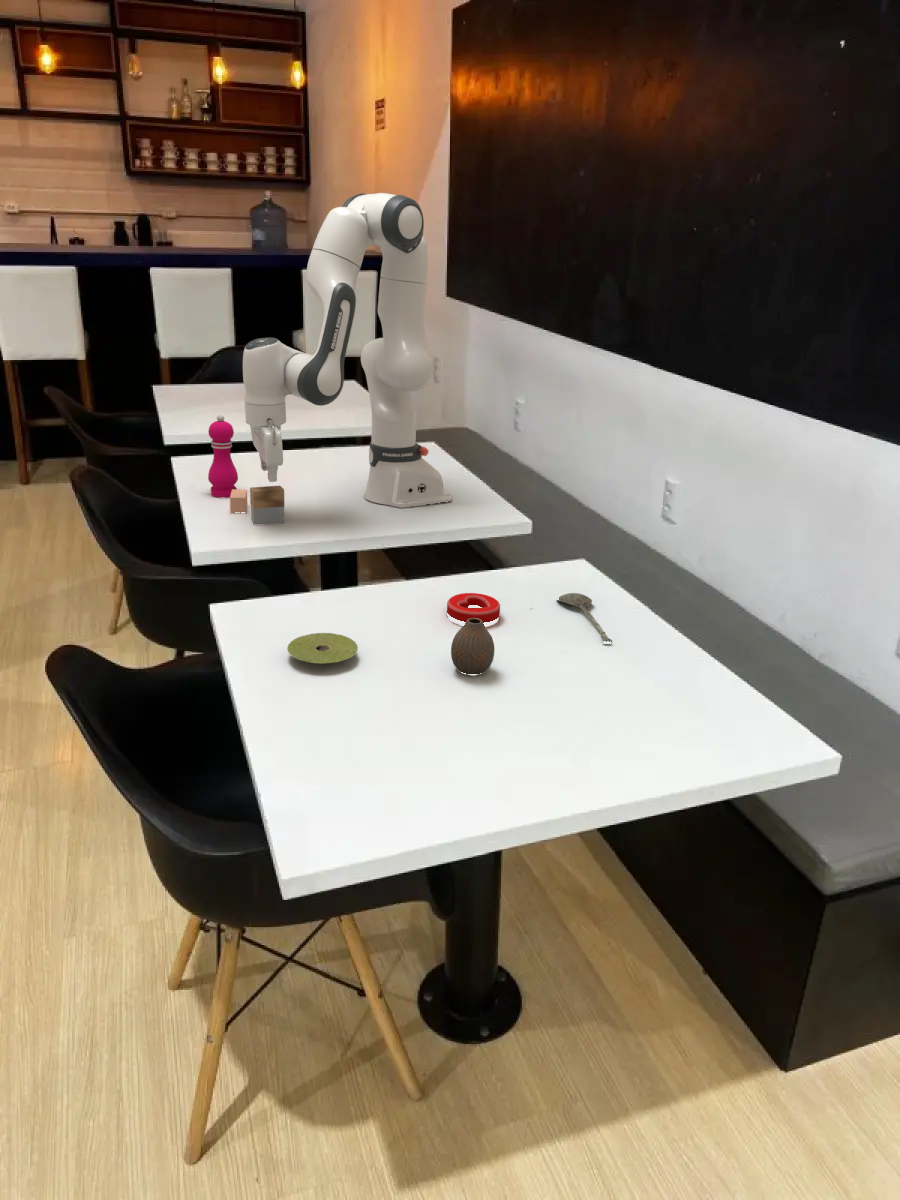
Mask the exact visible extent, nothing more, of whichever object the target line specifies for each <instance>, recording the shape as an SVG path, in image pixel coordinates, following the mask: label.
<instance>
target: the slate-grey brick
mask: <svg viewBox="0 0 900 1200" xmlns="http://www.w3.org/2000/svg"><path fill="white" fill-rule="evenodd" d="M251 520H252V521H251ZM250 521H251V523H252V522H253V523H252V524H253V525H254V524H264V525H275V524H277V523H278V524H285V506H284V507H271V508H258V509H254V508H253V507H252V506H251V505H250ZM278 524H277V525H278Z"/></svg>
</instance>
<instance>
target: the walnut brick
mask: <svg viewBox="0 0 900 1200" xmlns="http://www.w3.org/2000/svg"><path fill="white" fill-rule="evenodd" d="M249 499H250V503H249V504H250V507H251V506H252V507H253V508H254V509H258V508H271V507H284V508H285V489H284V487H282V486H281V485H268V486H266V485H265V486H252V487H249Z"/></svg>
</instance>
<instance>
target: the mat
mask: <svg viewBox="0 0 900 1200" xmlns="http://www.w3.org/2000/svg"><path fill="white" fill-rule="evenodd" d="M358 647H359V646H358V644H357V643H356V641H355V640H353V639H351V638H350V637H348V636H345V635H343V634H338V633H333V632H332V633H331V632H318V633H317V632H316V633H309V634H305V635H301V636H298V637H296V638H294V639H293V640H291V641H290V643H288V646H287V648H286V649H287V652H288V654H290V656H292V657H293V658H294V659H296V660H299V661H303V662H305V663H312V664H332V663H339V662H343V661H345V660H348V659H351V658H352V657H353V656H355V655H356V654H357V652H358V650H359V649H358Z"/></svg>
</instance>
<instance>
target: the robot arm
mask: <svg viewBox="0 0 900 1200" xmlns="http://www.w3.org/2000/svg"><path fill="white" fill-rule="evenodd" d="M424 219H425V218H424V214H423V211H422V207H421V206H420V204H419V203H418V202H417V201H416V200H415V199H413V198H411V197H408V196H407V195H403V194H393V193H392V194H391V193H387V192H378V193H369V194H368V193H358V194H353V195H352V196H351V197H349V198H348V199H346V200H345V201H344V203H343V204H342V206H337V207H334V208H332V209H331V210H329V212H328V213H327V215H326V217H325V218H324V220H323V223H322V225H321V226H320V229H319V231H318V232H317V236H316V238H315V240H314V244H313V247H312V249H311V251H310V255H309V258H308V261H307V267H306V276H305V277H306V278H305V279H306V281H307V285H308V287H309V288H310V291H311V292H312V294H313V295H314V296H315V297H316V299H318V300H319V302H320V304H321V306H322V308H323V320H322V324H321V325H322V326H321V330H320V334H319V338H318V344H317V347H316V350H315V352H314V353H313V354H309V353H307V352H303V351H299V350H297V349H294V348H292V347H290V346H287V345H286V344H284V343H282V342H281V341H280V340H279V339H278V338H276V337H261V338H256V339H253V340H251V341H249V342H248V343H246V345H245V346H244V350H243V355H242V377H243V378H242V381H243V386H244V388H245V395H244V413H245V423H246V424H247V425H249V426H250V427H249V428H250V433H251V434H250V435H251V439H252V444H253V446H254V447H255V449H256V450H257V452H258V454H259V455H258V456H259V461H260V469H261V470H262V471H263V472H265V471H267V480H268V482H270V483H275V482H277V481H278V470H279V469H278V468H279V466H282V465H283V463H284V451H283V439H282V432H281V430H282V426H281V425H284V424H286V422H287V411H286V409H287V407H286V406H287V405H286V398H287V396H289V395H293V396H294V397H297V398H301V399H303V400H305V401H307V402H309V403H310V404H313V405H314V406H315V405H316V406H327V405H329V404H331V403H333V402H335V400H336V399H337V398H338V397H339V395H341V392H342V390H343V387H344V381H345V360H346V354H347V350H348V344H349V340H350V337H351V332H352V327H353V322H354V317H355V314H356V313H355V312H356V306H357V305H356V304H357V298H356V297H357V296H356V286H357V281H358V276H359V273H360V270H361V267H362V263H363V260H364V258H365V257H364V255H365V252H366V251H367V250H368V248H369V247H370V246H372V247H373V246H374V247H379V248H380V251H381V253H382V263H381V269H380V277H379V290H378V302H377V315H378V317H379V321H380V324H381V329H382V337H378V338H375V339H372V340H370V341H368V342H367V343H366V344H365V345H364V347H363V348H362V351H361V353H360V363H361V367H362V368H363V369H362V370H363V371H364V374H365V379H366V384H367V389H368V396H369V400H370V406H371V407H370V409H371V441H370V442H369V448H368V463H369V472H368V479H367V484H366V487H365V492H364V494H363V497H364V499H366V501H367V500H368V501H369V502H372V503H376V504H380V505H386V506H392V507H396V508H400V509H401V508H404V509H406V508H412V506H413V507H419V506H427V505H426V504H430V505H435V503H438V504H441V503H440V502H446V503H449V502H448V501H451V500H452V501H453V496H452V493H451V492H450V491H449V490H447V489H446V488H444V480H443V477H442V475H441V473H440V472H439V470H437V469H436V468H435V467H434V466H432V464H430V463H429V462H428V461H426V459H424V458H423V457H427V456H428V454H429V449H428V448H427V447H426V446H422V445H421V444H418V443H417V441H416V439H417V438H416V436H417V434H416V433H417V416H418V415H417V411H416V408H415V406H414V403H413V399H412V395H411V392H418V391H421V390H423V389H424V388H426V387H427V386H428V385H429V383H430V382H431V380H432V378H433V374H434V365H433V362H432V359H431V357H430V355H429V352H428V345H427V339H426V332H425V331H426V330H425V309H426V306H425V305H426V295H427V286H428V284H427V283H428V276H429V275H428V273H429V271H428V270H429V257H428V245H427V244H428V243H427V240H426V239H425V237H424V227H425V222H424V221H425V220H424ZM452 501H451V502H452ZM433 503H434V504H433Z"/></svg>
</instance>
